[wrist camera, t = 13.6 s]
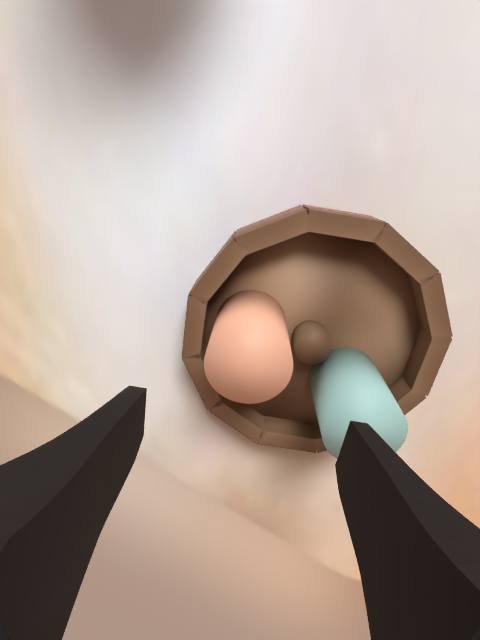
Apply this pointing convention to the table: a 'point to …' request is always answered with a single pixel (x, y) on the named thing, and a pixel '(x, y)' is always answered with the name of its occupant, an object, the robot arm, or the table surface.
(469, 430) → the table surface
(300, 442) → the tray
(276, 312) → the peach rounded cylinder
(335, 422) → the pale teal rounded piece
